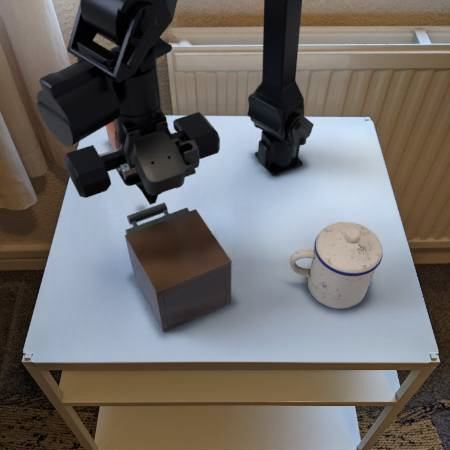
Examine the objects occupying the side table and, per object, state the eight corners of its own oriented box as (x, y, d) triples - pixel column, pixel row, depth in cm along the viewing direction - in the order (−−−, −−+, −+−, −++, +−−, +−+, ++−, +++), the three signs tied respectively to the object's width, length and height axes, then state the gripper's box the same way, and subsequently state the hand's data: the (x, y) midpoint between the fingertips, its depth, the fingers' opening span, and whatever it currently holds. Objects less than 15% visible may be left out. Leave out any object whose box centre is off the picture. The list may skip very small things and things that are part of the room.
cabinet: (134, 278, 75) (124, 235, 67) (198, 253, 78) (195, 208, 70) (163, 332, 70) (155, 292, 62) (230, 303, 72) (231, 261, 65)
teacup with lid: (364, 263, 77) (385, 209, 67) (370, 313, 72) (393, 262, 62) (286, 258, 77) (295, 204, 68) (286, 308, 72) (296, 256, 62)
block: (132, 136, 94) (128, 115, 90) (142, 150, 91) (138, 129, 88) (109, 143, 92) (104, 122, 89) (118, 158, 90) (113, 137, 86)
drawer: (121, 243, 78) (112, 206, 71) (176, 222, 80) (172, 185, 74) (158, 312, 70) (152, 278, 64) (217, 287, 73) (217, 252, 67)
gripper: (78, 170, 50) (107, 267, 63) (242, 117, 55) (238, 217, 68) (46, 109, 55) (79, 210, 68) (198, 66, 60) (202, 167, 73)
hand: (151, 202), depth 69 cm, fingers closed
